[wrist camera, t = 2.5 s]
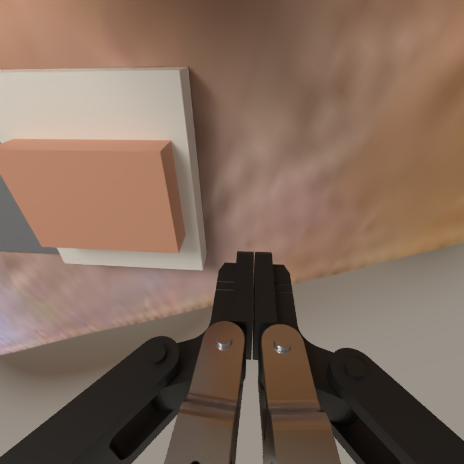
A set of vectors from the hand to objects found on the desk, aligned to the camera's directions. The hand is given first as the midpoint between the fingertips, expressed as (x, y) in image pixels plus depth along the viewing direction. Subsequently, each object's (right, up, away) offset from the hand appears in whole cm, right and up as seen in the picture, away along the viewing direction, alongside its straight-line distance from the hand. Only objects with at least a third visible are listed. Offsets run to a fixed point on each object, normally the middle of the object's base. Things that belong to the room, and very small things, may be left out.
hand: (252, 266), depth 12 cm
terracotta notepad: (-9, +4, +6) cm, 12 cm away
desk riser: (-9, +5, +8) cm, 13 cm away
